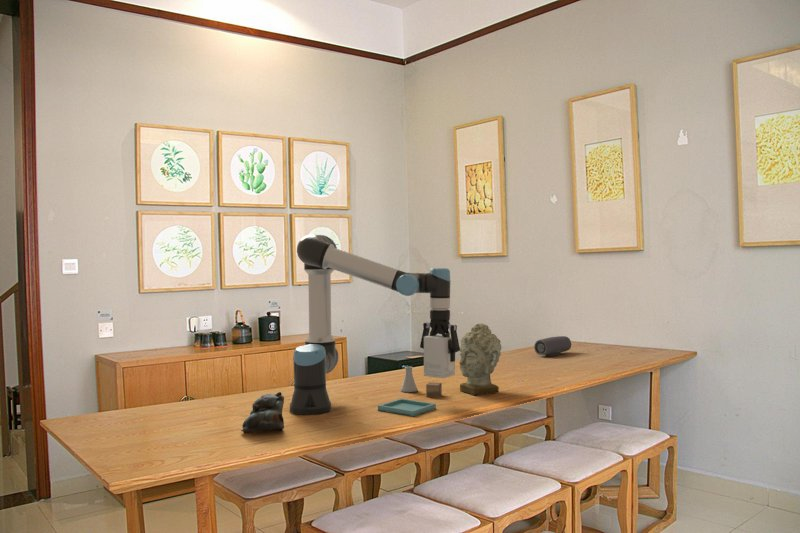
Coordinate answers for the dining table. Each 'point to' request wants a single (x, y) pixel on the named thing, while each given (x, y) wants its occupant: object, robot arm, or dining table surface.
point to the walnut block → (433, 389)
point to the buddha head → (479, 360)
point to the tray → (407, 407)
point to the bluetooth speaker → (552, 345)
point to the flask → (409, 381)
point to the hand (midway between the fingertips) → (439, 368)
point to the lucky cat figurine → (266, 414)
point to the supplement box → (437, 357)
